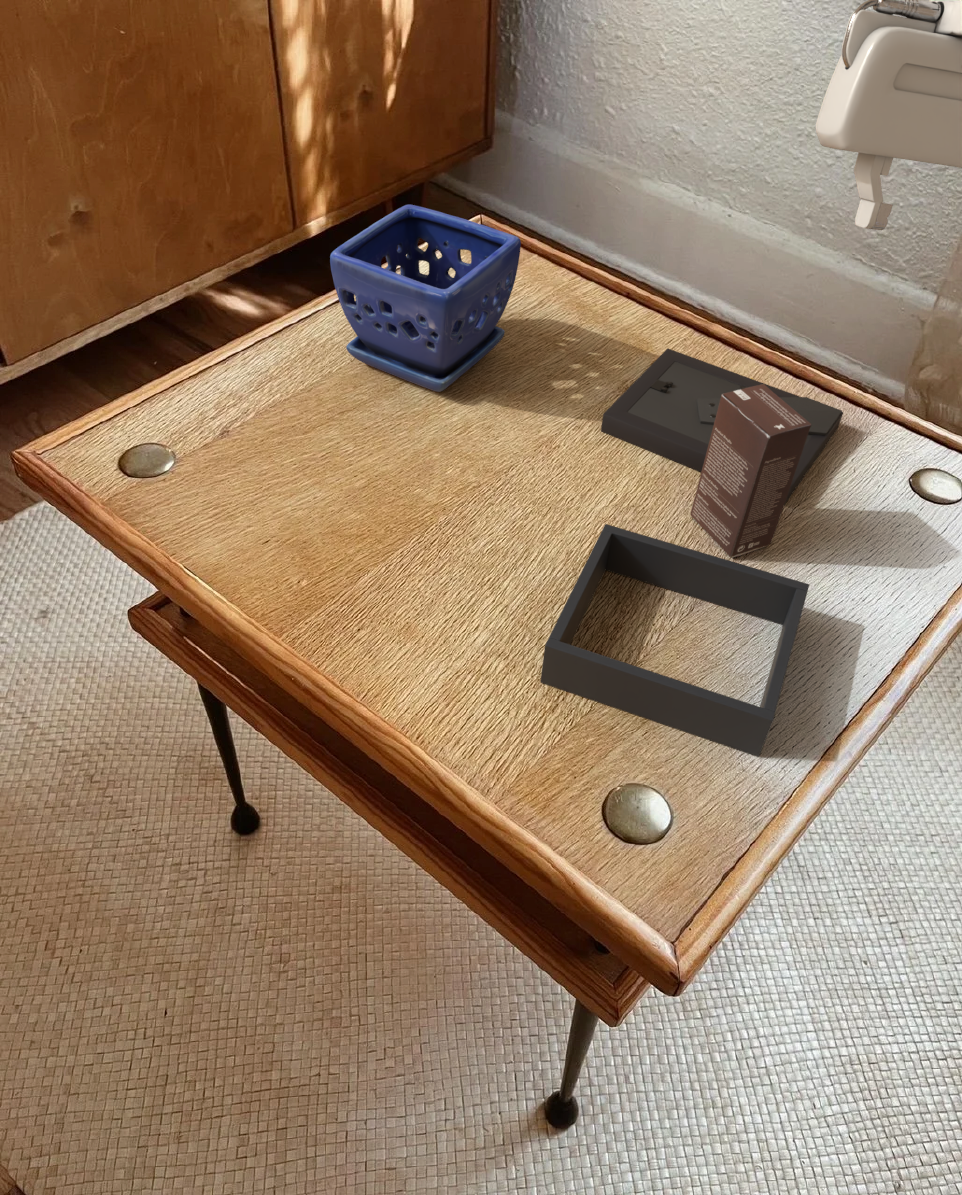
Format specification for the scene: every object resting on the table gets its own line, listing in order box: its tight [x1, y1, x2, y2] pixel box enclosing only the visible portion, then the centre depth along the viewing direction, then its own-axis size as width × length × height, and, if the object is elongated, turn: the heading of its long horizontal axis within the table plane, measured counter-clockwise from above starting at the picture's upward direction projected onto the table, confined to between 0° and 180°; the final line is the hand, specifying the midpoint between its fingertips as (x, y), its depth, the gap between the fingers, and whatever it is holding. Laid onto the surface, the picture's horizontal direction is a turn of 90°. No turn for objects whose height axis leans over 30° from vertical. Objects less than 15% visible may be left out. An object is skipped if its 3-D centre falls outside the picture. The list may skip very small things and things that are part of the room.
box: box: [690, 383, 811, 558], centre depth 80 cm, size 6×4×12 cm
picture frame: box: [600, 348, 844, 506], centre depth 93 cm, size 13×2×18 cm
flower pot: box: [329, 204, 522, 393], centre depth 96 cm, size 13×13×12 cm
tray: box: [539, 523, 810, 757], centre depth 73 cm, size 16×14×4 cm
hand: (926, 235), depth 73 cm, fingers open, 8 cm apart
